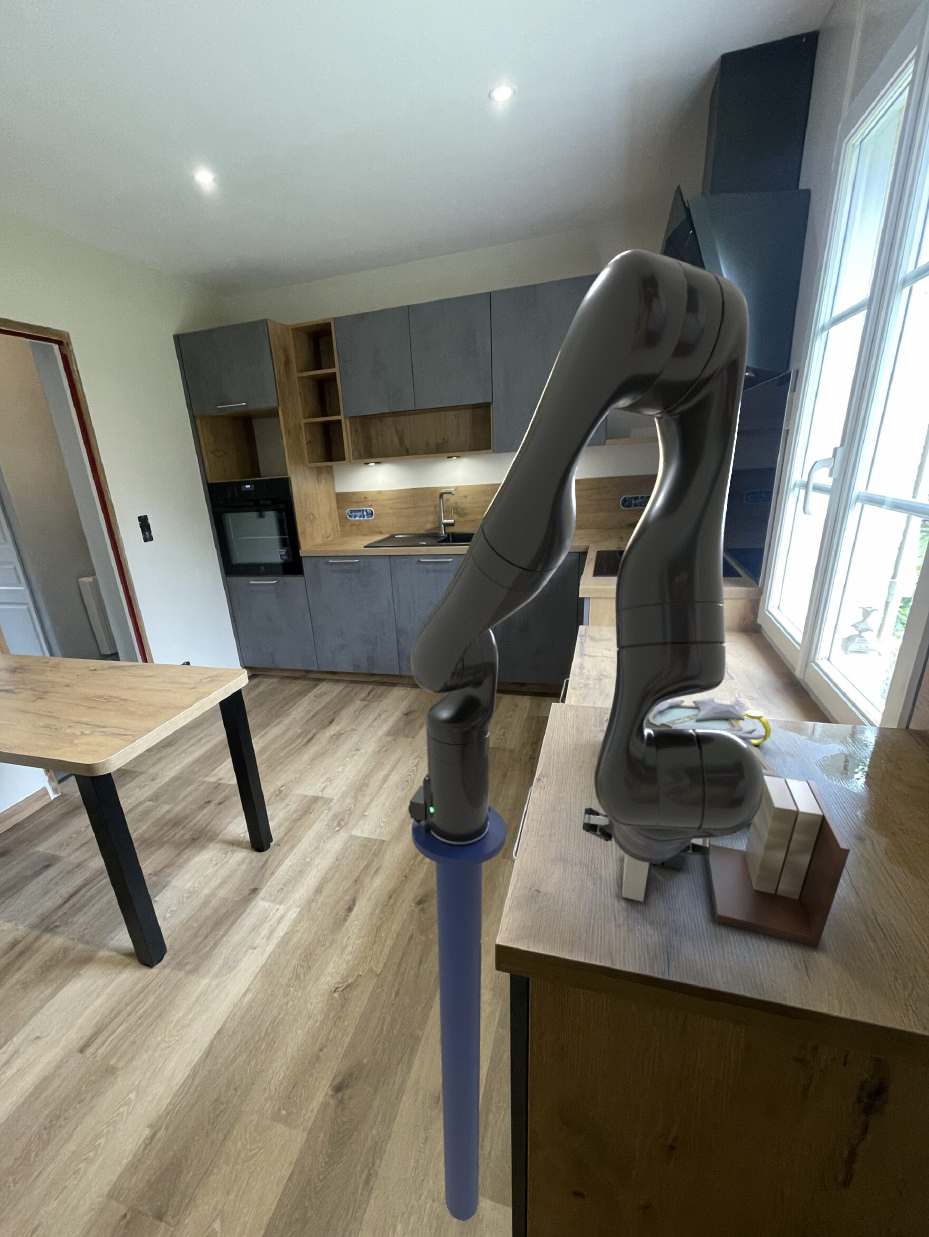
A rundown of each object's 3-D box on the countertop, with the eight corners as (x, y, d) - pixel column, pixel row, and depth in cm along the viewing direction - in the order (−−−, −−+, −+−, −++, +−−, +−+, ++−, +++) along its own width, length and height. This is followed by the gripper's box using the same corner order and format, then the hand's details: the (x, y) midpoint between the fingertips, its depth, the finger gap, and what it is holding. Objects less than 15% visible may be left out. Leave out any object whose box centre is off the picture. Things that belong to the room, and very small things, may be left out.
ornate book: (605, 733, 106) (630, 821, 79) (610, 689, 103) (637, 763, 75) (728, 741, 102) (799, 836, 74) (737, 695, 99) (815, 776, 71)
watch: (769, 745, 98) (776, 717, 96) (761, 750, 97) (768, 721, 95) (737, 733, 103) (743, 705, 101) (729, 737, 101) (734, 709, 99)
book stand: (715, 922, 61) (736, 829, 56) (704, 850, 73) (721, 767, 68) (818, 947, 58) (850, 849, 53) (790, 867, 69) (814, 780, 64)
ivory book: (622, 897, 65) (633, 816, 61) (624, 860, 71) (634, 784, 67) (643, 902, 64) (655, 820, 60) (643, 864, 71) (655, 787, 66)
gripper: (733, 793, 50) (701, 823, 66) (582, 769, 55) (584, 801, 70) (730, 875, 48) (697, 886, 63) (572, 841, 53) (577, 859, 68)
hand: (638, 841), depth 67 cm, fingers closed on ivory book, 2 cm apart
